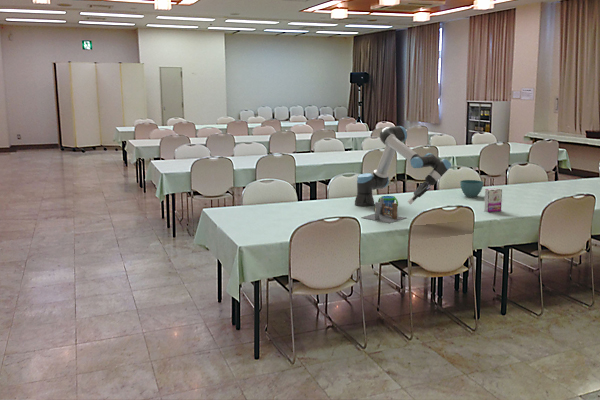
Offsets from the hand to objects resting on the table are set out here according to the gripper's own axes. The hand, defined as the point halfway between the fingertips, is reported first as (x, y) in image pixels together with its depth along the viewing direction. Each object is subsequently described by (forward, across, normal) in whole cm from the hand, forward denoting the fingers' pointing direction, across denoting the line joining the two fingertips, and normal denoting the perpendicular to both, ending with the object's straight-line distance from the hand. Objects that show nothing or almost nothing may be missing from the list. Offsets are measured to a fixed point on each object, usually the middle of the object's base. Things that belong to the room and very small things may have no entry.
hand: (409, 203), depth 394 cm
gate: (+16, +6, +1) cm, 17 cm away
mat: (+19, +5, +4) cm, 20 cm away
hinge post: (+18, +15, +3) cm, 24 cm away
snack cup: (+12, +28, -4) cm, 30 cm away
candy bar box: (-40, +9, -56) cm, 69 cm away
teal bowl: (-48, +64, -63) cm, 102 cm away
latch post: (+24, +1, +8) cm, 25 cm away
